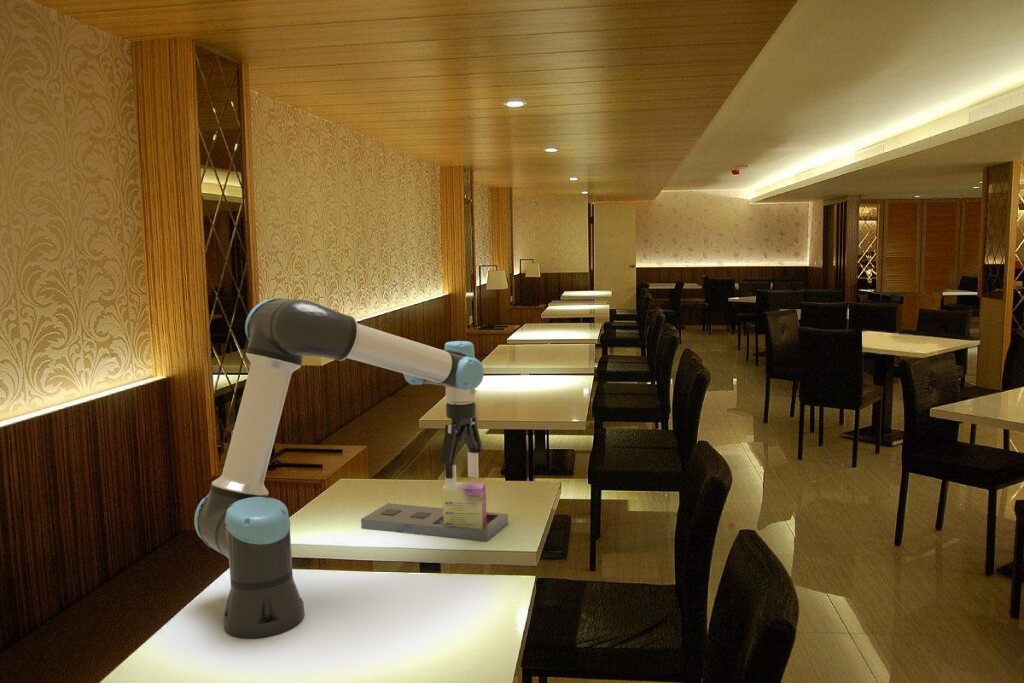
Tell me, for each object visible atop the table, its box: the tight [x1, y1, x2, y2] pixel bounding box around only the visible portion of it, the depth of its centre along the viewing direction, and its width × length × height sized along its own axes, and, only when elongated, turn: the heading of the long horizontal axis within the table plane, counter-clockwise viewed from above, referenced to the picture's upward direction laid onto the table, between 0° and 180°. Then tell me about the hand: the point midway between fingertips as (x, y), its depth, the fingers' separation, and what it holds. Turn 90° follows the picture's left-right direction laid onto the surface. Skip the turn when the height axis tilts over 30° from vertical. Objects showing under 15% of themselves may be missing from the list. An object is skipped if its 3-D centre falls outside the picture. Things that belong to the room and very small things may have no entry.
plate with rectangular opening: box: [360, 502, 509, 542], centre depth 210 cm, size 14×36×3 cm, turn 69°
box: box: [441, 481, 488, 529], centre depth 206 cm, size 10×6×12 cm, turn 81°
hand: (462, 483), depth 205 cm, fingers open, 13 cm apart
